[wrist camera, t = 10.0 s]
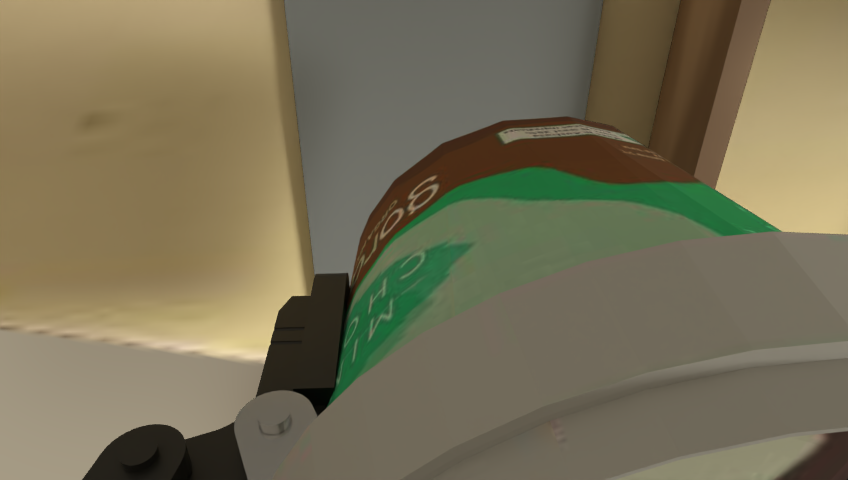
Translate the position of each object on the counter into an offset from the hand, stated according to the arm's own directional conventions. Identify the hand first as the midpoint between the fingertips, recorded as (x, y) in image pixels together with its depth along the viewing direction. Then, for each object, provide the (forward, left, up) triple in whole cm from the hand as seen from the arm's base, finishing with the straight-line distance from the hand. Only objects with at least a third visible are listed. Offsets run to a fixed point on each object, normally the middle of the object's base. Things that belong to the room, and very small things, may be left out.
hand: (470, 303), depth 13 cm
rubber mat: (0, 0, -9) cm, 9 cm away
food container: (+1, 0, -3) cm, 3 cm away
